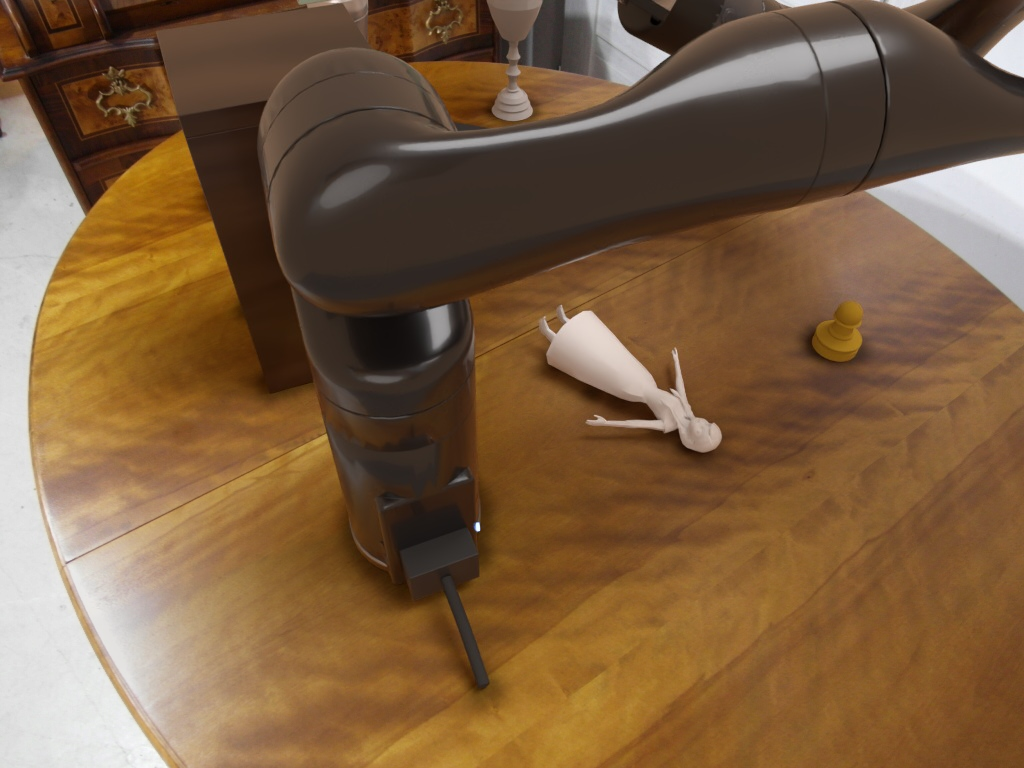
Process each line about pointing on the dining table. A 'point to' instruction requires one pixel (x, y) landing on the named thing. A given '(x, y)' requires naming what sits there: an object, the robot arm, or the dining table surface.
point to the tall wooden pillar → (248, 153)
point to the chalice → (513, 53)
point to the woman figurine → (624, 378)
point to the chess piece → (840, 333)
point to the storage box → (310, 1)
